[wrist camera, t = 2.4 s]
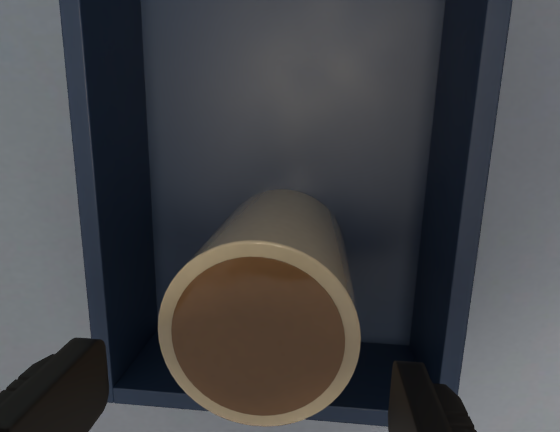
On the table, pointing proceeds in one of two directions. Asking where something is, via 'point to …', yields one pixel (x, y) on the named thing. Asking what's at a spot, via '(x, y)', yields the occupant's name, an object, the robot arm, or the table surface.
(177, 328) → the cup
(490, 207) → the table surface
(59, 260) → the table surface
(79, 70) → the navy tray
